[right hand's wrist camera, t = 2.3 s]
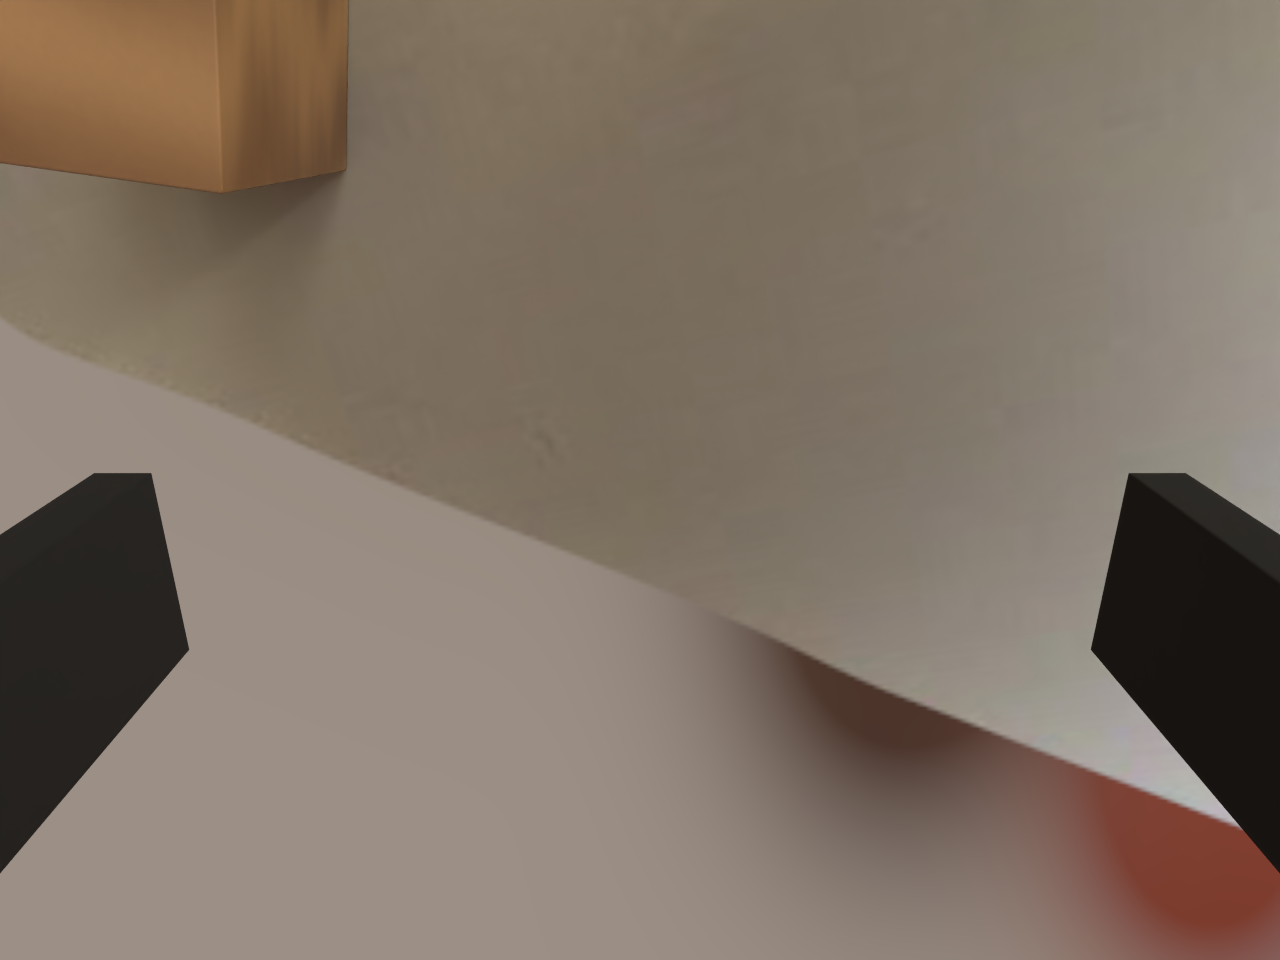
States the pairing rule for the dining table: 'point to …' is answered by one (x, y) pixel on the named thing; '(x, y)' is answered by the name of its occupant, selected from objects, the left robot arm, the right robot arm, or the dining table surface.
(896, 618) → the dining table surface
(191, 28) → the board
